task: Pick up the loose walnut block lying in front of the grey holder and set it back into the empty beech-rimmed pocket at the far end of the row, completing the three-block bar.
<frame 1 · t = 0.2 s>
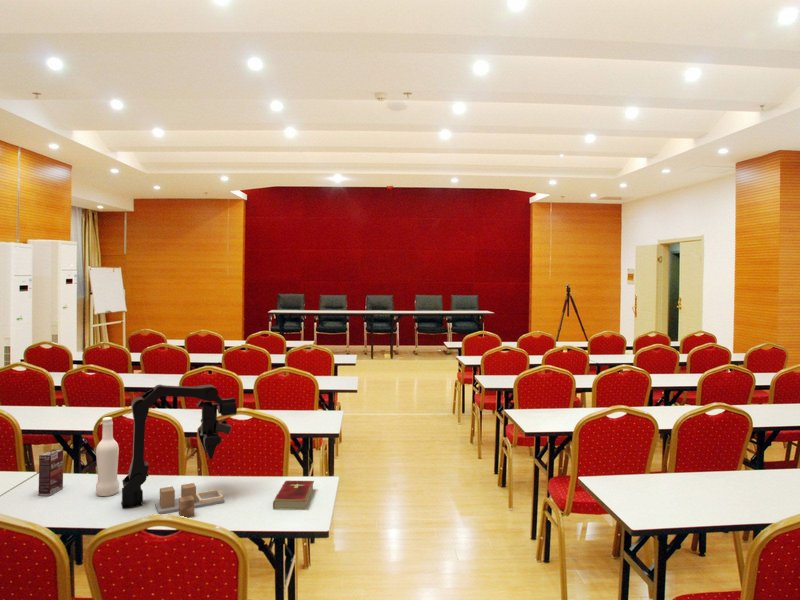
hand: (208, 456, 222), 14 cm above the table, fingers open, 9 cm apart
walnut block: (186, 515, 199), on the table
holder: (189, 504, 209), on the table
bottle: (107, 493, 219), on the table
supplement box: (51, 492, 220), on the table
hardcover book: (294, 500, 216), on the table
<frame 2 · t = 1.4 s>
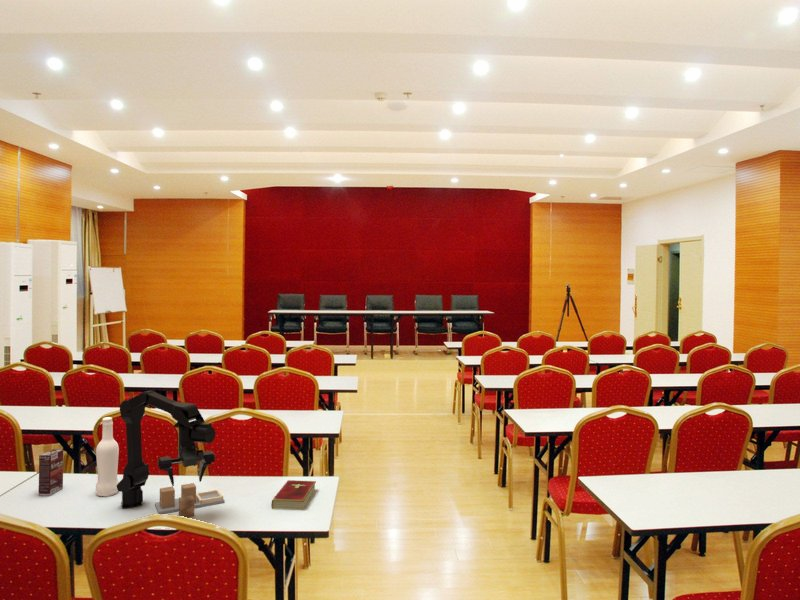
hand: (186, 483, 199), 11 cm above the table, fingers open, 9 cm apart
nothing on the table moved.
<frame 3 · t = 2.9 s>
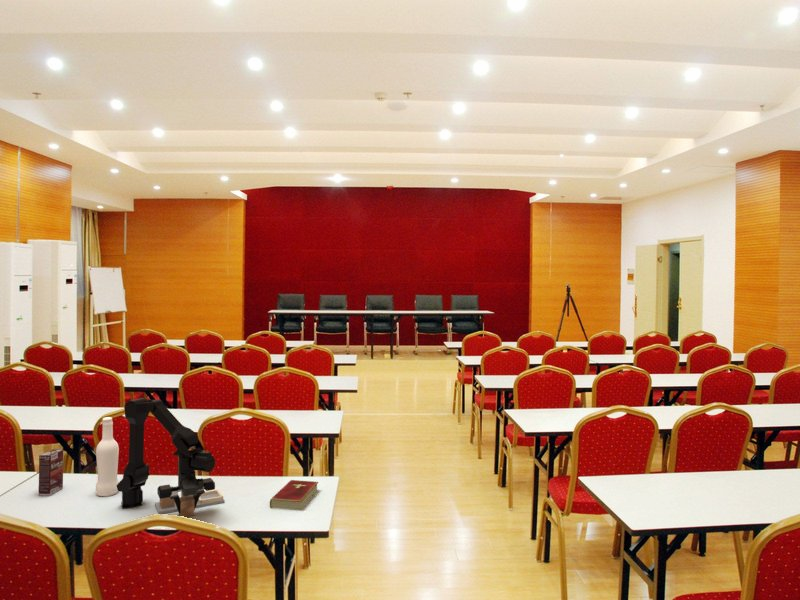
hand: (186, 511, 199), 1 cm above the table, fingers closed on walnut block, 4 cm apart
walnut block: (186, 515, 199), on the table, touching gripper
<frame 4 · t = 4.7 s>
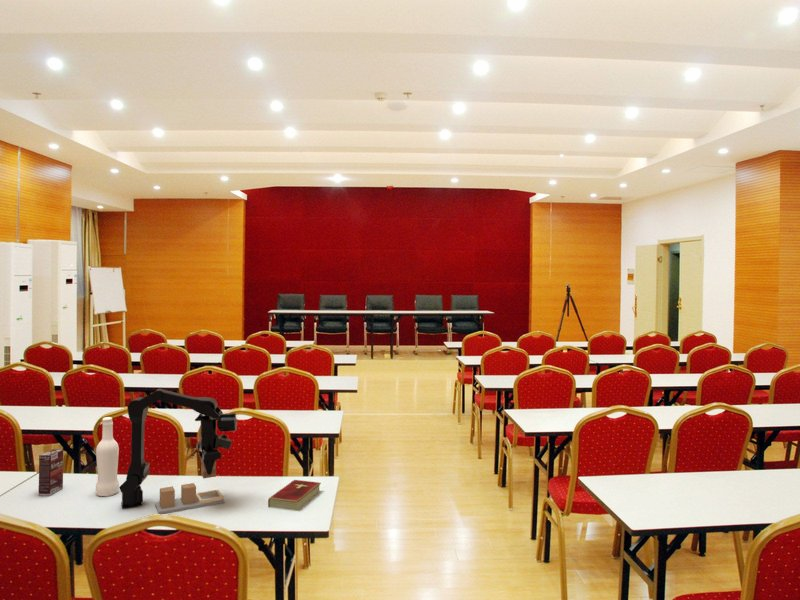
hand: (208, 472, 212), 11 cm above the table, fingers closed on walnut block, 4 cm apart
walnut block: (208, 475, 212), point 10 cm above the table, touching gripper
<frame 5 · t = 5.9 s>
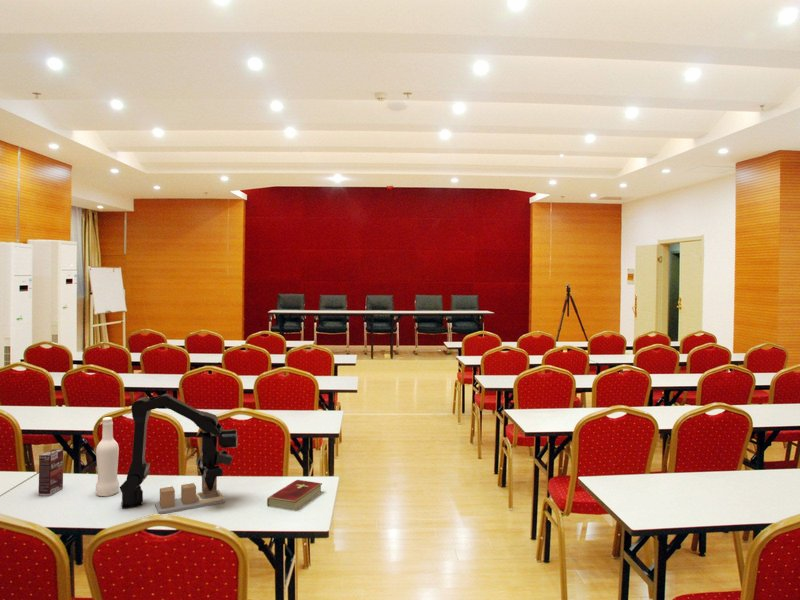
hand: (209, 488, 213), 5 cm above the table, fingers closed on walnut block, 4 cm apart
walnut block: (209, 491, 213), point 3 cm above the table, touching gripper
when the fingers open (3 cm above the table, at t = 6.5 s): walnut block drops 1 cm, resting on holder.
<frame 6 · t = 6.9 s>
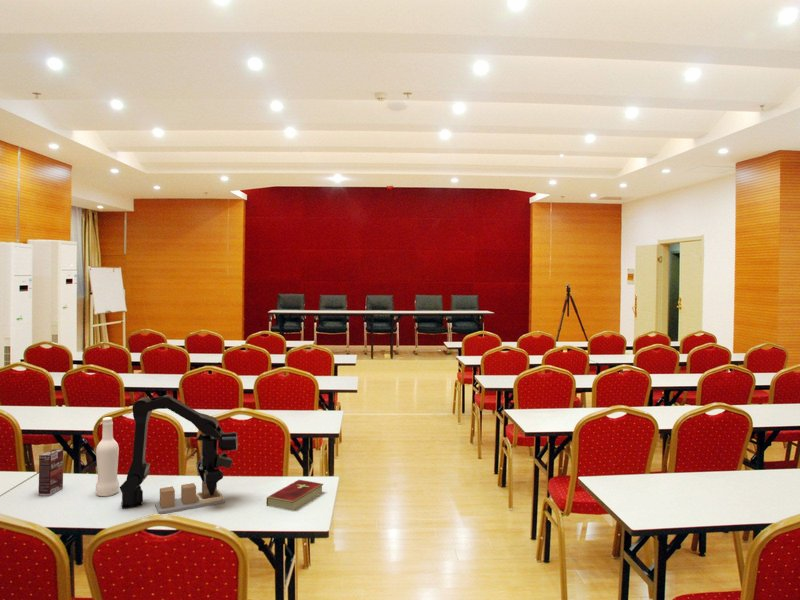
hand: (209, 491, 213), 3 cm above the table, fingers open, 9 cm apart
walnut block: (209, 497, 213), point 1 cm above the table, touching holder
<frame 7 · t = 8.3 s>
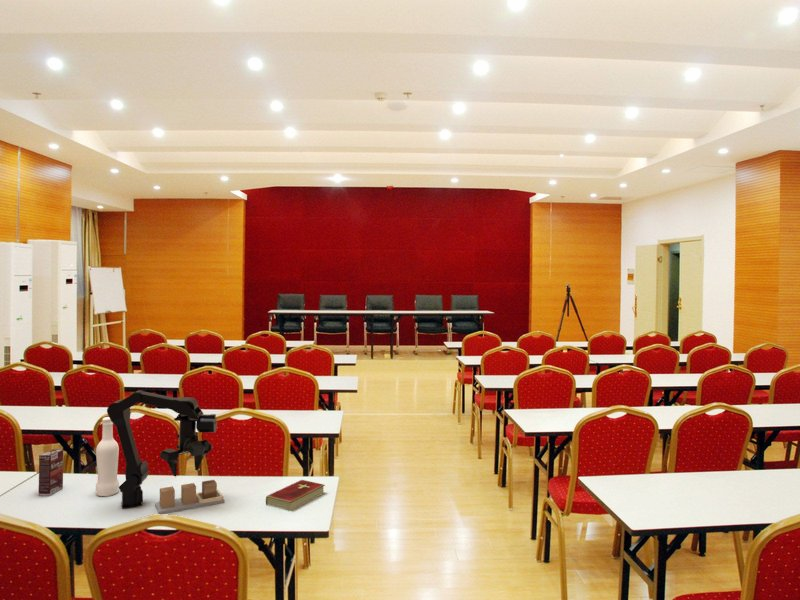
hand: (186, 473, 210), 11 cm above the table, fingers open, 9 cm apart
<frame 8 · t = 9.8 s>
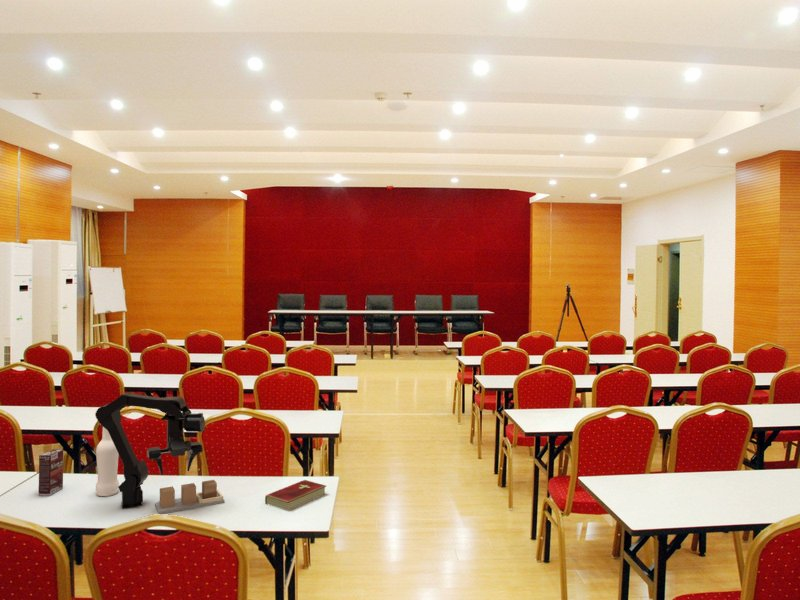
hand: (175, 472, 208), 12 cm above the table, fingers open, 9 cm apart
at the end: walnut block 0.0 cm from the target spot on the holder, point 1.0 cm above the holder's base; walnut block tilted 0°; the gripper is holding nothing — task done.
